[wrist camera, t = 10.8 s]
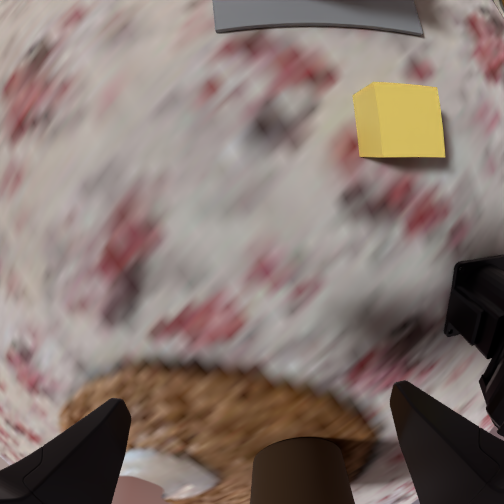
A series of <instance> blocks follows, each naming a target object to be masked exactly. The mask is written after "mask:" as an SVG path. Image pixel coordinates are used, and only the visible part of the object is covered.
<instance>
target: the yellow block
mask: <svg viewBox="0 0 504 504" xmlns="http://www.w3.org/2000/svg"><path fill="white" fill-rule="evenodd" d="M353 102H354V110H355V118H356V126H357V135H358V144H359V155H360V157H445V148H444V136H443V126H442V118H441V110H440V103H439V96H438V90H437V87H429V86H421V85H411V84H400V83H385V82H373V83H371V84H369V85H368V86H366V87H365V88H363V89H362V90H360V91H359V92H357V93H355V94H354V95H353Z"/></svg>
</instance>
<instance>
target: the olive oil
mask: <svg viewBox="0 0 504 504" xmlns="http://www.w3.org/2000/svg"><path fill="white" fill-rule="evenodd" d="M250 504H355V502H354V499H353V495H352V491H351V487H350V483H349V479H348V475H347V471H346V467H345V464H344V460H343V456H342V453H341V450H340V449H339V447H338V446H337V445H335V444H334V443H332V442H330V441H327V440H323V439H318V438H295V439H289V440H284V441H281V442H277V443H275V444H272V445H270V446H268V447H266V448H264V449H263V450H262V451H260V452H259V453H258V454H257V455H256V457H255V459H254V462H253V472H252V486H251V499H250Z"/></svg>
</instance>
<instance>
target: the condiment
mask: <svg viewBox="0 0 504 504" xmlns="http://www.w3.org/2000/svg"><path fill="white" fill-rule="evenodd" d="M494 2H495V4H496V5H497V7H498V9H499V11H500V12H501V14H502V16H503V17H504V0H494Z"/></svg>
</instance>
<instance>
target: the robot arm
mask: <svg viewBox="0 0 504 504" xmlns="http://www.w3.org/2000/svg"><path fill="white" fill-rule="evenodd" d="M460 267H461V270H460V271H459V269H460ZM449 330H450V331H449ZM444 334H445V335H446V336H447V337H451V336H455V335H458V334H461V335H462V336H463V337H464V338H465V339H466V340H467V341H468V343H469V344H470V345H472V346H473V345H475V346H476V348H477V349H478V350H479V351H480V352H481V353H482V354H483V355H484V356H485V357H486V358H487V359H490V358H492V359H491V361H490V363H489V365H488V367H487V369H486V371H485V373H484V374H483V375H482V376H481V378H480V380H479V384H480V387H481V390H482V393H483V396H484V399H485V402H486V405H487V406H486V410H487V413H488V415H489V416H490V418H491V420H492V422H493V423H494V425H495V426H496V427H497V428H498V430H497V433H498V434H499V435H501V436H503V437H504V255H500V256H494V257H487V258H481V259H474V260H468V261H461V262H458V263H457V264H456V265H455V268H454V274H453V282H452V289H451V294H450V300H449V306H448V312H447V317H446V323H445V328H444ZM390 407H391V411H392V415H393V419H394V423H395V428H396V432H397V436H398V440H399V444H400V447H401V450H402V452H403V455H404V458H405V460H406V463H407V466H408V469H409V472H410V475H411V478H412V480H413V483H414V486H415V489H416V492H417V495H418V498H419V501H420V504H504V441H503V440H501V439H499V438H497V437H495V436H493V435H492V434H490V433H488V432H487V431H485V430H484V429H482V428H479V426H477V425H475V424H474V423H472V422H471V421H469V420H467V419H466V418H464V417H463V416H461V415H460V414H458V413H456V412H455V411H453V410H452V409H450V408H449V407H447V406H445V405H444V404H442V403H441V402H439V401H438V400H436V399H434V398H433V397H431V396H430V395H428V394H427V393H425V392H424V391H422V390H421V389H419V388H417V387H416V386H414V385H413V384H411V383H410V382H408V381H406V380H404V381H399V382H396V383H394V385H393V389H392V393H391V398H390ZM130 424H131V415H130V413H129V411H128V408H127V406H126V404H125V402H124V401H123V400H122V399H118V398H111V399H109V400H108V401H106V402H105V403H104V404H102V405H101V406H100V407H98V408H97V409H95V410H94V411H93V412H91V413H90V414H88V415H87V416H85V417H84V418H83V419H81V420H80V421H78V422H77V423H76V424H74V425H73V426H71V427H70V428H68V429H67V430H65V431H64V432H63V433H61V434H60V435H58V436H57V437H55V438H54V439H52V440H51V441H49V442H48V443H47V444H45V445H44V446H43V447H41V448H39V449H38V450H36V451H35V452H33V453H31V454H30V455H28V456H27V457H25V458H23V459H21V460H20V461H18V462H16V463H14V464H12V465H10V466H8V467H6V468H4V469H2V470H0V504H111V503H112V499H113V496H114V492H115V488H116V484H117V481H118V478H119V474H120V471H121V467H122V464H123V460H124V457H125V452H126V447H127V441H128V435H129V430H130Z"/></svg>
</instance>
